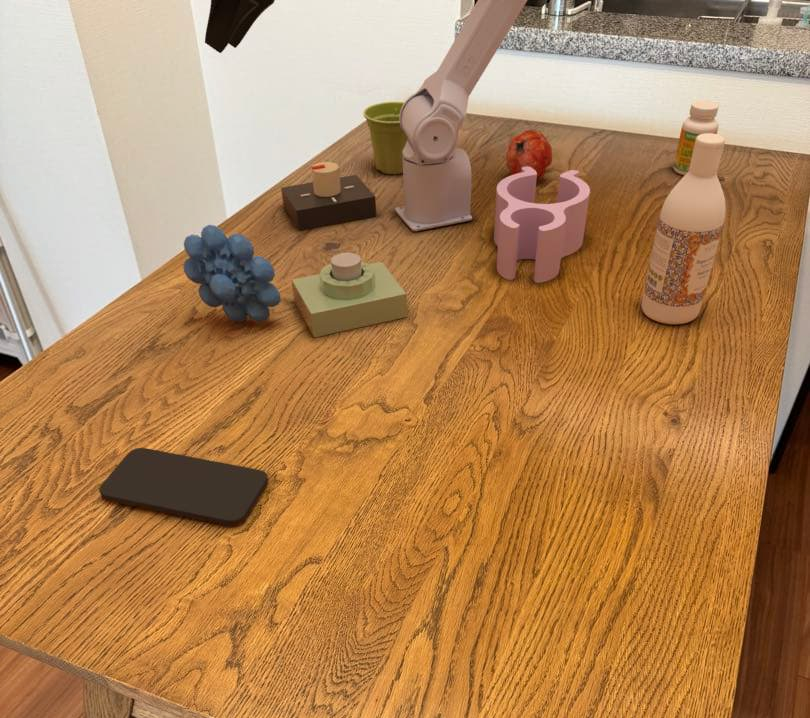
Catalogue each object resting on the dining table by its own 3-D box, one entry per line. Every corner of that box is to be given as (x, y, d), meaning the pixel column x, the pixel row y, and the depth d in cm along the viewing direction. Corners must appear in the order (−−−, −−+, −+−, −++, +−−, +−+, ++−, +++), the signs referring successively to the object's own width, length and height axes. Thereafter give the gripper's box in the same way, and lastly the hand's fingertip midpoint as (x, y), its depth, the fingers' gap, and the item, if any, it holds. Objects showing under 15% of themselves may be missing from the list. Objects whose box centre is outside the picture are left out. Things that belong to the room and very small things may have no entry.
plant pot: (425, 157, 133) (424, 101, 126) (420, 179, 126) (419, 121, 120) (370, 157, 133) (367, 101, 127) (363, 179, 127) (359, 121, 121)
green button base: (383, 284, 102) (381, 247, 99) (407, 317, 96) (406, 279, 93) (294, 302, 100) (289, 265, 96) (314, 337, 94) (309, 299, 90)
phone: (238, 523, 70) (93, 493, 74) (240, 530, 71) (96, 499, 74) (271, 471, 75) (134, 445, 78) (272, 477, 76) (136, 451, 79)
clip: (571, 286, 101) (578, 233, 96) (476, 276, 103) (478, 224, 98) (588, 220, 114) (595, 171, 109) (504, 213, 116) (507, 164, 111)
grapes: (182, 335, 95) (156, 239, 86) (203, 307, 99) (181, 213, 91) (272, 344, 93) (256, 247, 84) (290, 315, 97) (276, 220, 89)
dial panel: (357, 194, 123) (356, 173, 120) (376, 216, 117) (375, 195, 115) (283, 207, 120) (280, 186, 118) (299, 231, 114) (296, 209, 112)
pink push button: (356, 266, 96) (355, 250, 95) (365, 279, 94) (364, 263, 92) (328, 271, 95) (327, 255, 94) (337, 285, 93) (335, 268, 92)
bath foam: (670, 332, 92) (714, 155, 78) (628, 308, 96) (662, 135, 82) (711, 314, 95) (760, 139, 80) (668, 292, 99) (707, 121, 85)
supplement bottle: (671, 175, 124) (685, 109, 117) (673, 163, 128) (687, 97, 121) (706, 178, 123) (723, 111, 116) (708, 165, 127) (724, 100, 120)
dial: (336, 184, 118) (333, 158, 115) (344, 194, 115) (342, 167, 113) (310, 188, 117) (307, 162, 114) (318, 198, 114) (315, 172, 112)
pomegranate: (518, 181, 130) (484, 155, 122) (545, 139, 127) (512, 110, 120) (546, 201, 126) (513, 175, 119) (574, 158, 123) (542, 129, 116)
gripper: (252, -94, 93) (206, 20, 100) (222, -104, 81) (173, 27, 89) (304, -55, 95) (255, 55, 102) (282, -58, 83) (229, 66, 91)
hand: (220, 45), depth 96 cm, fingers open, 7 cm apart
